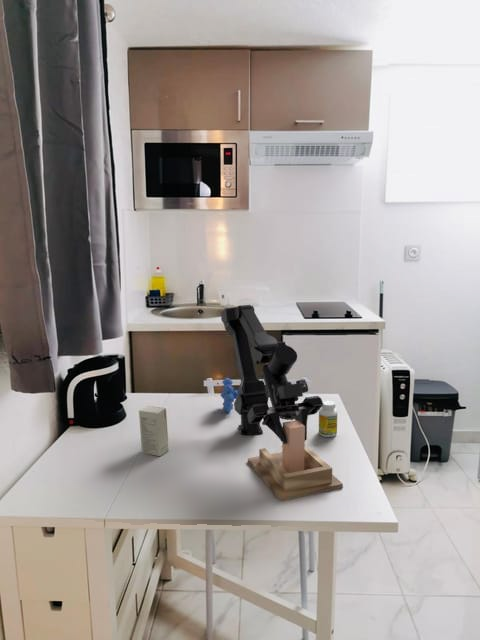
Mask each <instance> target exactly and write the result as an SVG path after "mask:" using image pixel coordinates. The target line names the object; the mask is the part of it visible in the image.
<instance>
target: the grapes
mask: <svg viewBox="0 0 480 640" xmlns="http://www.w3.org/2000/svg"><path fill="white" fill-rule="evenodd" d="M233 383H234V382H233V381H232V380H231V378H229V377H225V378H224V379H223V381H222V384H223V385H222V388H221V389H222V390H223V391H222V392H221V393H220V397H221V398H222V399H223V403H222V405H223V407H222V409H223V410H224V411H225V413H230V412H231V411H232V410H233V409H234V402H235V400H236V398H237V396H238V389H234V387H233V386H232V385H233Z"/></svg>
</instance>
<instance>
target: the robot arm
mask: <svg viewBox="0 0 480 640" xmlns="http://www.w3.org/2000/svg"><path fill="white" fill-rule="evenodd" d="M254 307H255V306H254V305H251V304H241V305H237V306H234V307H233V306H232V307H225V308H224V310H223V311H221V313H220V316H221V317H220V319H221V322H222V323H223V326H224V330H225V331H226V332H227V333H228V334H229V336H230V337H231V339H232V343H233V349H234V354H235V357H236V358H235V359H236V362H237V363H236V364H237V367H238V373H239V378H240V383H239V386H238V389H237V391H238V396H237V398H236V399H234V401H233V405H234V406H233V409H234V411H235V412H236V413H237V414H238V415H239V416H240V424H238V426H237V427H238V430H239V433H240V435H242V436H245V435H257V434H259V435H261V434H264V432H263V429H262V427H261V424H262V425H263V426H266V427H268V428H269V429H270V430H271V432H273V433H274V434H275V435H276V437H277V438H278V439H279V440H280V441H281V442H283V443H284V444H286V443H287V439H286V436H285V433H284V430H283V424H282V422H281V417H280V415H279V414H283V413H289V412H296V414H297V416H296V418H295V419H294V421H295V420H298V421H299V422H300V423H302V424H303V425H304V426H305V442H306V441H307V439H308V437H307V436H308V435H307V434H308V433H307V432H308V431H307V430H308V417H309V416H311V415H316V414H317V413H319V410H320V409H321V408H322V406H323V405H324V404H323V399H322V397H320V396H319V395H313V396H306V397H304V399H303V400H302V402H298V403H296V402H297V401H298V400H299V397H303V396H304V395H303V394H305V393H308V392H309V386H308V383H307V381H306V379H299V380H296V381H295V383H292V382H291V381H289V380H288V378H287V374H289V373H290V371H291V369H293V366H294V365H295V363H296V362H297V359H298V354H297V353H298V352H297V351H296V350H295V349H293V347H292V346H289V345H287V344H286V341H278V340H277V339H276V338H275V337H274V336H272V335H270V334H268V333H267V331H266V330H265V328H264V326H263V325H262V323H261V322H260V320H259V318H258V315H257V314H256V313H255V312H256V311H255V308H254ZM250 343H251V346H250ZM254 363H255V364H256V365H263V364H264V366H263V367H262V369H261V373H260V378H261V379H263V380H260V379H259V378H258V377H257V373H256V370H255V364H254ZM269 400H270V403H271V406H269ZM262 420H263V421H262ZM261 422H262V423H261Z"/></svg>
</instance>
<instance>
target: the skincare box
mask: <svg viewBox="0 0 480 640" xmlns="http://www.w3.org/2000/svg"><path fill="white" fill-rule="evenodd" d="M138 416H139V429H140V442H141V453H142V454H146V455H153V456H157V457H158V456H159V457H161V456H163V455H164V454H166V453H167V452H169V450H170V449H169V434H168V419H167V418H168V417H167V408H165V407H161V406H153V405H146V406H145V407H142V408H141V409H139V410H138Z"/></svg>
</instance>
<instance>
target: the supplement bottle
mask: <svg viewBox="0 0 480 640" xmlns="http://www.w3.org/2000/svg"><path fill="white" fill-rule="evenodd" d="M322 402H323V404H324V405H323V406H322V407H321V408H320V410H319V411H318V434H319V435H320V436H322V437H324V438H332V437H336V436H337V434H338V410H337V409H336V402H335V401H332V400H322Z"/></svg>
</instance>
